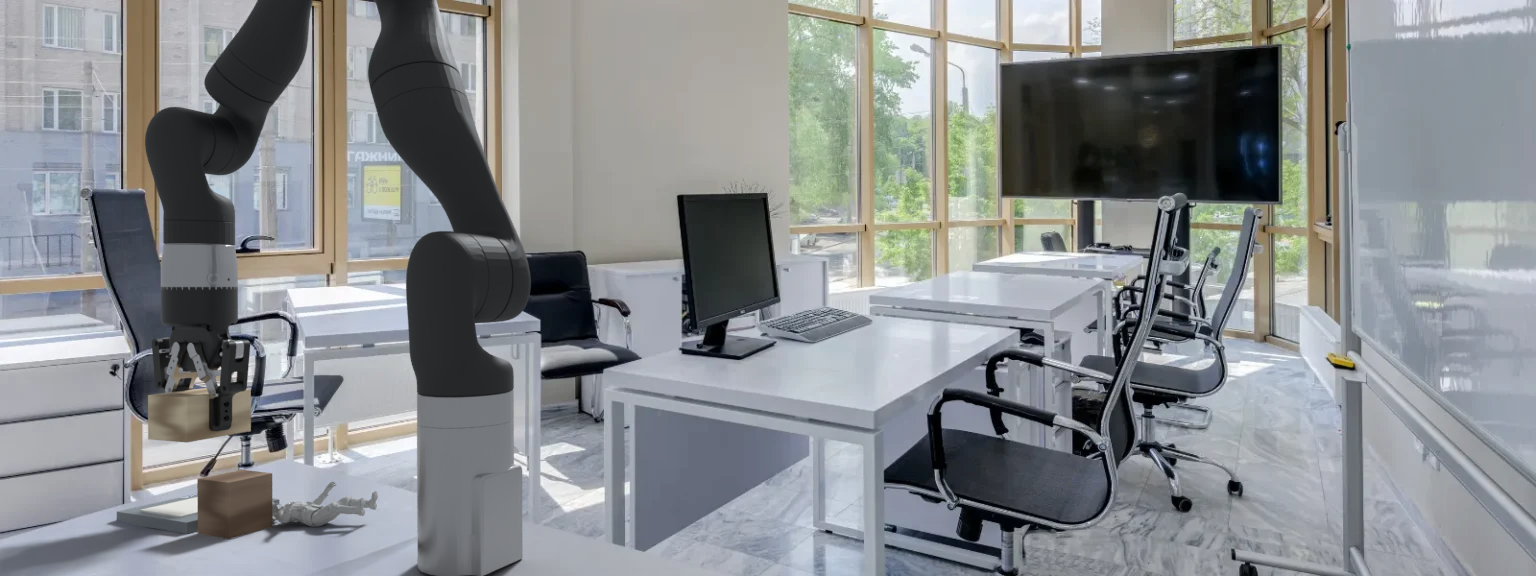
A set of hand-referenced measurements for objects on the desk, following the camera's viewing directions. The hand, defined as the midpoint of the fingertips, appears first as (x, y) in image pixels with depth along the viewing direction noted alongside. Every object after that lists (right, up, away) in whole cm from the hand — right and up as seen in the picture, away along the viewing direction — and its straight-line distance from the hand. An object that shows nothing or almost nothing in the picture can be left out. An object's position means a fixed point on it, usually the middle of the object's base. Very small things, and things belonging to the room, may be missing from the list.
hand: (200, 427), depth 102 cm
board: (0, -10, 0) cm, 10 cm away
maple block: (0, -1, 0) cm, 1 cm away
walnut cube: (+8, -10, -6) cm, 14 cm away
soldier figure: (+22, -9, -5) cm, 24 cm away
